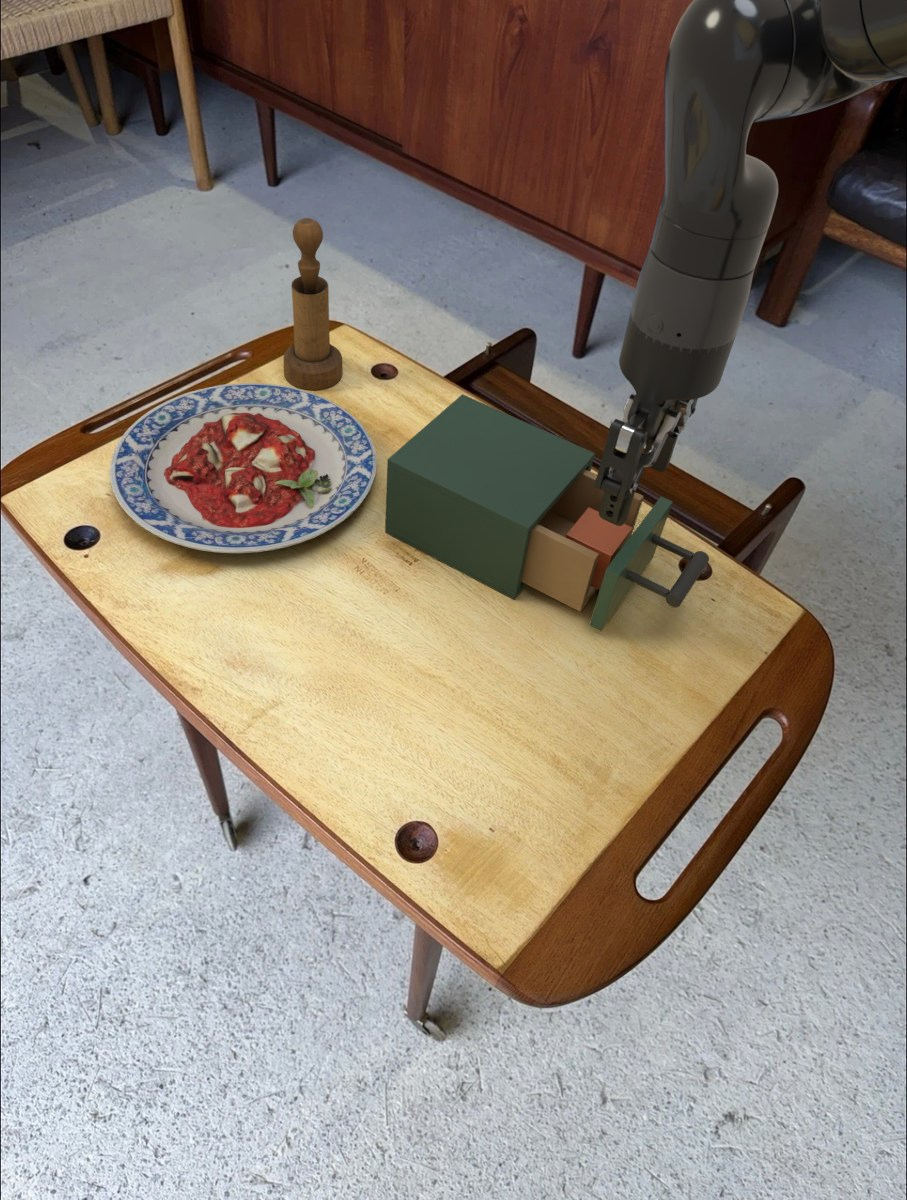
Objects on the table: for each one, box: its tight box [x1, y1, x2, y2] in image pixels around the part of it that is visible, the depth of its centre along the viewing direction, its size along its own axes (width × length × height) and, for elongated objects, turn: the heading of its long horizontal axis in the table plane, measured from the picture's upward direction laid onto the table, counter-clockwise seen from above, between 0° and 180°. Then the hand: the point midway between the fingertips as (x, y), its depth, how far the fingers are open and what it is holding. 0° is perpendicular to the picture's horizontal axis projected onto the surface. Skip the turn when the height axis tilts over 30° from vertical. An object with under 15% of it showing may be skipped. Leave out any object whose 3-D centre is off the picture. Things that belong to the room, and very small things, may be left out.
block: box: [565, 507, 634, 591], centre depth 81 cm, size 4×4×4 cm
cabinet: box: [384, 393, 596, 601], centre depth 85 cm, size 15×13×9 cm
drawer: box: [521, 470, 710, 632], centre depth 81 cm, size 19×11×7 cm, turn 57°
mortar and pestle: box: [283, 217, 343, 391], centre depth 96 cm, size 7×6×18 cm
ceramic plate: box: [109, 382, 377, 554], centre depth 89 cm, size 26×26×3 cm
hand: (633, 492), depth 75 cm, fingers open, 8 cm apart
